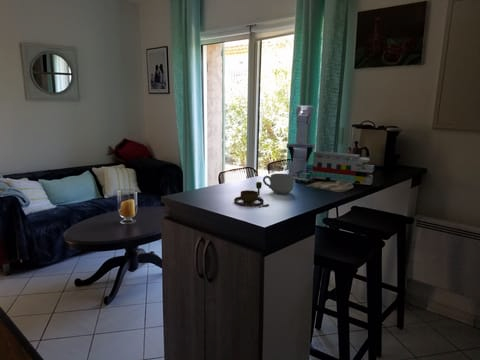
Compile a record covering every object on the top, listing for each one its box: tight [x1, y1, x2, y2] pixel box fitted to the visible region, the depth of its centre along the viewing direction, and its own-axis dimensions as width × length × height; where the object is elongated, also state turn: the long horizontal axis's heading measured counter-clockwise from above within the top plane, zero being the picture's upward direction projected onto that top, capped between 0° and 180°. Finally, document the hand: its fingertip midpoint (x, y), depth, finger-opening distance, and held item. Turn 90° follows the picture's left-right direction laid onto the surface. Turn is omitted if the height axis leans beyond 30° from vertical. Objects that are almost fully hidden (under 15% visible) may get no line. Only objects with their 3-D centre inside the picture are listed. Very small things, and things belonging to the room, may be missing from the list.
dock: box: [305, 181, 355, 193], centre depth 175 cm, size 19×14×4 cm
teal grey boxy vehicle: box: [294, 171, 314, 185], centre depth 183 cm, size 7×7×5 cm
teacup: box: [262, 173, 295, 195], centre depth 159 cm, size 14×11×8 cm
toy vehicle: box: [311, 150, 375, 187], centre depth 185 cm, size 8×30×15 cm, turn 62°
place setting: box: [233, 181, 270, 209], centre depth 144 cm, size 18×20×6 cm
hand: (299, 161), depth 183 cm, fingers open, 7 cm apart
